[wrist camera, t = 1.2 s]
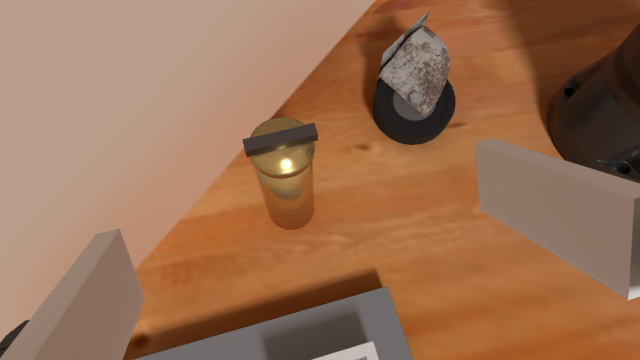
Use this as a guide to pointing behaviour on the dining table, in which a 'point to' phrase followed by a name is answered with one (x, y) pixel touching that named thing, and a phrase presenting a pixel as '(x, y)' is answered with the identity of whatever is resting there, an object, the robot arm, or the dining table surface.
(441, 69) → the caster wheel
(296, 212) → the amber translucent cylinder
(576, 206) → the robot arm
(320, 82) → the dining table surface
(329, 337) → the board
